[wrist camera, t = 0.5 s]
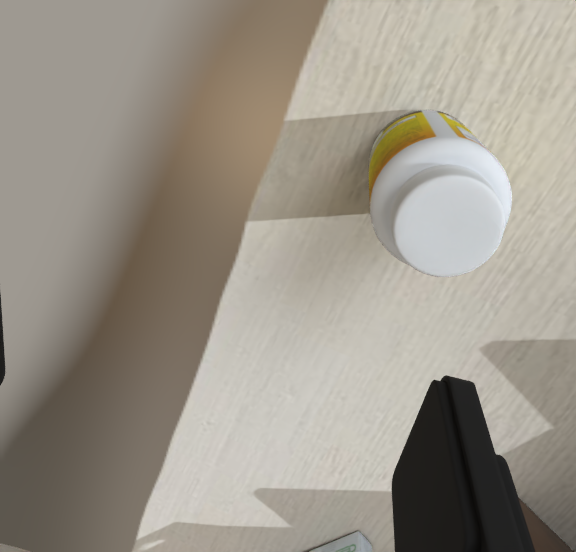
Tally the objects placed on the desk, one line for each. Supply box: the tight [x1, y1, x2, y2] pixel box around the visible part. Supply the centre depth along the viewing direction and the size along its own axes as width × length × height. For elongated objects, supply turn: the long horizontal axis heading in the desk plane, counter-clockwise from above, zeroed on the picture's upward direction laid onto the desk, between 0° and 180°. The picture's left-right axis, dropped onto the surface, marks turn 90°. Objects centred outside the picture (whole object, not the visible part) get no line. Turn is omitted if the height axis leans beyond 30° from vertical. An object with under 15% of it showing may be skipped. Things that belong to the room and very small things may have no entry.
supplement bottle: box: [368, 110, 512, 277], centre depth 23 cm, size 6×6×10 cm
